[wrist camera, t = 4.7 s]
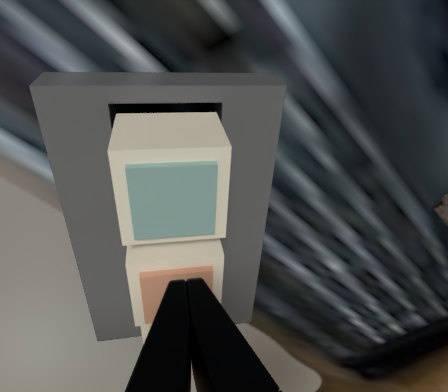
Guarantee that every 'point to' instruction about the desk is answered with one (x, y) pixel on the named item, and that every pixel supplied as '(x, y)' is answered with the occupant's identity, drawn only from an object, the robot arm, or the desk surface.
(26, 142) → the desk surface
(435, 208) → the geological specimen
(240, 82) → the keypad base
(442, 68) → the desk surface
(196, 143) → the key
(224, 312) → the robot arm
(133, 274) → the key
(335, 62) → the desk surface
